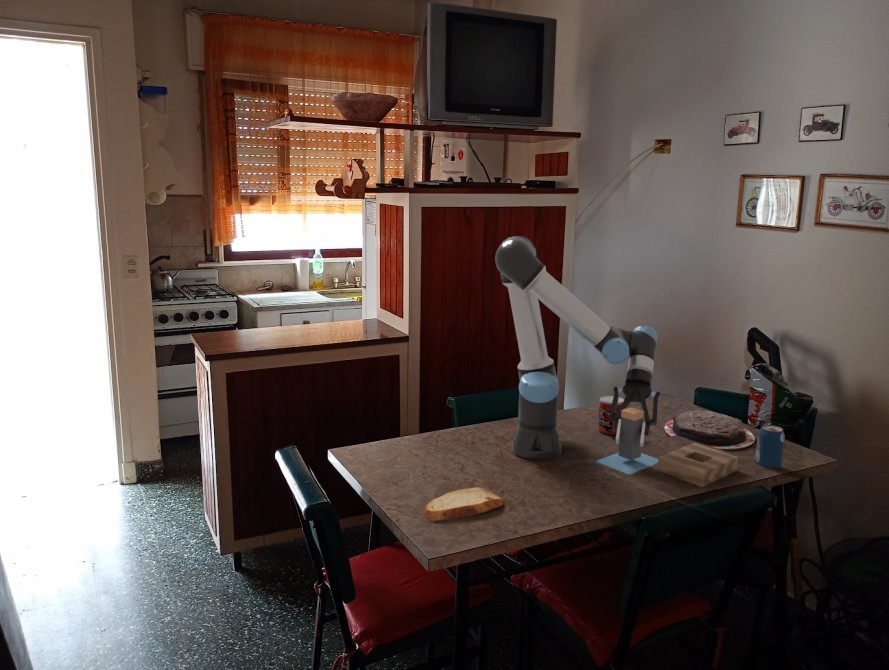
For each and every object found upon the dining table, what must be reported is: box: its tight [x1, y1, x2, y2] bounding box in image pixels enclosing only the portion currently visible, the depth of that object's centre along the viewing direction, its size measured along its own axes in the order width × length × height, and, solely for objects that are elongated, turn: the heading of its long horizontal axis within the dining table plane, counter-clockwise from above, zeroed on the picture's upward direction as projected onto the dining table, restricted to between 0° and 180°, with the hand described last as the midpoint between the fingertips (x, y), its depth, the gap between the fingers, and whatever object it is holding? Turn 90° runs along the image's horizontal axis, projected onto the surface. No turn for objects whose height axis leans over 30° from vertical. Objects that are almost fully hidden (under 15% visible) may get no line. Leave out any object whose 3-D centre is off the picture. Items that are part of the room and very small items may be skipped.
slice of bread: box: [423, 486, 504, 522], centre depth 179 cm, size 18×18×4 cm
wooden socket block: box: [657, 442, 739, 488], centre depth 201 cm, size 18×14×5 cm
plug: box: [618, 406, 645, 460], centre depth 205 cm, size 4×4×14 cm
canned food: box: [597, 395, 625, 436], centre depth 233 cm, size 8×8×11 cm
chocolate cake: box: [664, 409, 756, 452], centre depth 231 cm, size 28×28×7 cm
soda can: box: [754, 424, 786, 469], centre depth 205 cm, size 7×7×12 cm
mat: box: [595, 452, 658, 476], centre depth 207 cm, size 16×12×1 cm
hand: (629, 443), depth 202 cm, fingers closed on plug, 6 cm apart
